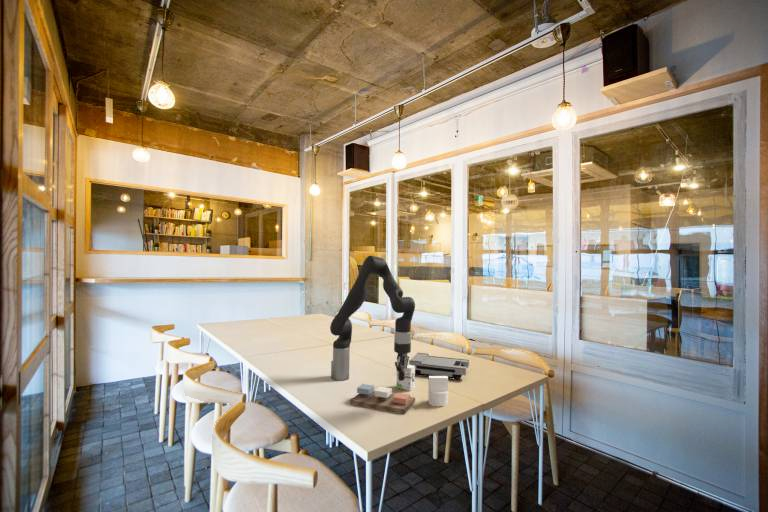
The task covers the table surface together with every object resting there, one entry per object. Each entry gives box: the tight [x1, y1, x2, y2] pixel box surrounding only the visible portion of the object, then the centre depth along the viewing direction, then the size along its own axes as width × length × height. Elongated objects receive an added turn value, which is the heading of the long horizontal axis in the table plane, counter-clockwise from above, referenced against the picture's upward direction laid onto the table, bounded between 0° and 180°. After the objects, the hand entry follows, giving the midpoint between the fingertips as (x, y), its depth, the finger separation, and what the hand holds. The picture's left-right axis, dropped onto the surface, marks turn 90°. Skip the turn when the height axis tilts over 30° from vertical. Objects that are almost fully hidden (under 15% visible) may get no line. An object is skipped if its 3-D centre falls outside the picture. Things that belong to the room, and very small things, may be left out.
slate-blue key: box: [356, 383, 375, 395], centre depth 169 cm, size 6×6×2 cm
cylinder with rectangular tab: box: [427, 376, 449, 407], centre depth 167 cm, size 9×9×12 cm
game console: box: [408, 352, 470, 380], centre depth 213 cm, size 21×32×8 cm, turn 71°
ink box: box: [396, 364, 416, 392], centre depth 185 cm, size 9×5×12 cm, turn 58°
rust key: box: [393, 392, 411, 405], centre depth 162 cm, size 6×6×2 cm
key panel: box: [350, 390, 416, 415], centre depth 165 cm, size 26×15×4 cm, turn 68°
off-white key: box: [374, 386, 393, 398], centre depth 165 cm, size 6×6×2 cm
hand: (401, 379), depth 162 cm, fingers closed
